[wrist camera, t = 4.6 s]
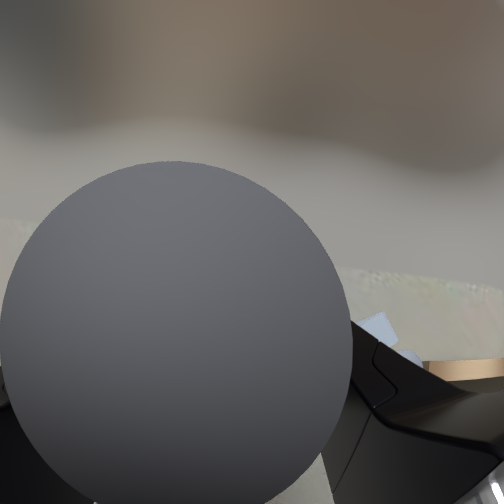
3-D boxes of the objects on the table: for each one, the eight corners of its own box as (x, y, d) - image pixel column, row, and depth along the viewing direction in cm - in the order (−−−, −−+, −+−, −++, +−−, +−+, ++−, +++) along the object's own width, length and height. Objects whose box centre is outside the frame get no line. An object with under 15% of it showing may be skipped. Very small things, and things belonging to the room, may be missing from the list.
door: (388, 379, 19) (427, 382, 14) (391, 349, 20) (430, 343, 15) (515, 371, 18) (556, 366, 13) (516, 348, 19) (557, 340, 14)
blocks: (463, 544, 12) (494, 564, 7) (444, 559, 12) (473, 582, 6) (358, 321, 21) (392, 306, 15) (330, 337, 21) (358, 329, 15)
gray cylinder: (296, 355, 15) (425, 331, 3) (227, 422, 13) (156, 570, 2) (227, 289, 16) (169, 113, 4) (160, 354, 15) (-34, 314, 3)
